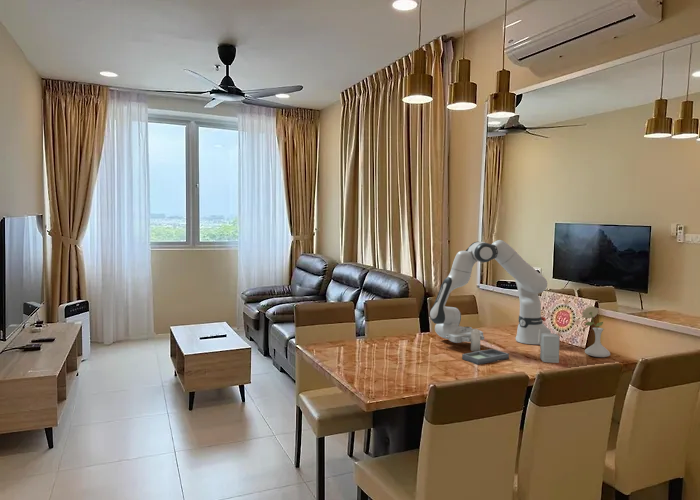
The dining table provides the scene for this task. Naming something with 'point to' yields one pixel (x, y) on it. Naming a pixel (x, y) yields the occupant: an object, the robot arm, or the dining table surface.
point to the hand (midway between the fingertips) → (476, 339)
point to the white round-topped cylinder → (475, 340)
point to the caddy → (485, 356)
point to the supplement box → (549, 347)
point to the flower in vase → (597, 347)
